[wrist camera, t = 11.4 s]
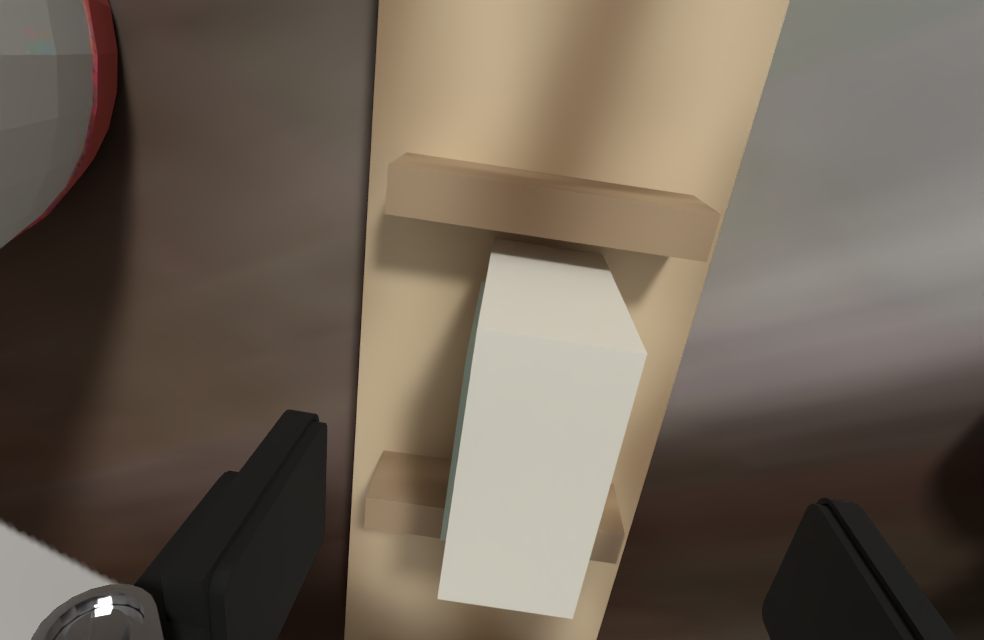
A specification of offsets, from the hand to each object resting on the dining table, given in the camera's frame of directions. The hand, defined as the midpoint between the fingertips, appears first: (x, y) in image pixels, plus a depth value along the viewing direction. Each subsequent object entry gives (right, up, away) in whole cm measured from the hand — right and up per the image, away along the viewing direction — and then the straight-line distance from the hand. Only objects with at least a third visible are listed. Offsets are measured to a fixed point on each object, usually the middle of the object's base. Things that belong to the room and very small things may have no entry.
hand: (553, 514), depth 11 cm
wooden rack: (0, +3, +9) cm, 9 cm away
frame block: (0, +3, +7) cm, 7 cm away
